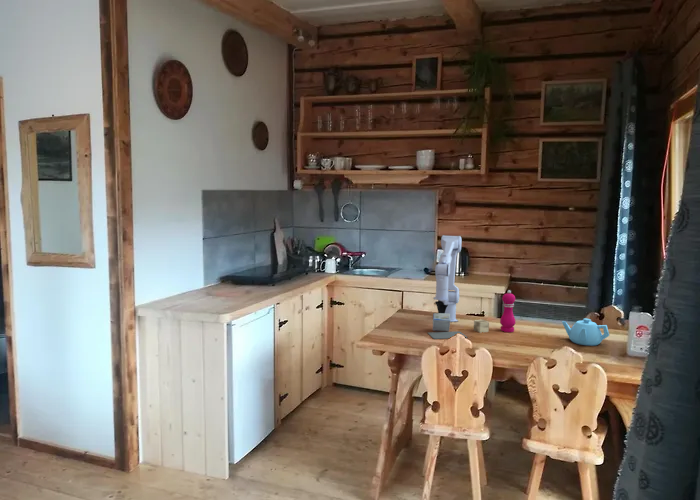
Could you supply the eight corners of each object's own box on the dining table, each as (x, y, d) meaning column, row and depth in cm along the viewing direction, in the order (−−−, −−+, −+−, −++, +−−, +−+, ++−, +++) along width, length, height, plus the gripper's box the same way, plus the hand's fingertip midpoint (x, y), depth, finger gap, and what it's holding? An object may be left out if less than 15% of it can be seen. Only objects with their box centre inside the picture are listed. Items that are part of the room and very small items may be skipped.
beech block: (473, 330, 266) (473, 320, 266) (482, 329, 268) (482, 319, 268) (479, 333, 262) (480, 322, 261) (488, 331, 264) (488, 321, 263)
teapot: (580, 348, 239) (582, 324, 238) (559, 338, 254) (561, 315, 252) (610, 346, 243) (612, 322, 241) (588, 336, 257) (590, 314, 256)
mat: (427, 333, 260) (427, 332, 260) (459, 332, 263) (459, 331, 263) (433, 339, 250) (433, 338, 250) (467, 338, 253) (467, 337, 253)
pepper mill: (498, 331, 264) (500, 290, 262) (500, 328, 271) (502, 288, 268) (514, 333, 261) (516, 292, 259) (515, 329, 268) (517, 289, 266)
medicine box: (448, 324, 267) (450, 313, 261) (449, 331, 264) (450, 320, 258) (432, 323, 268) (433, 312, 262) (432, 331, 265) (433, 319, 258)
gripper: (429, 285, 270) (429, 312, 271) (438, 291, 256) (437, 320, 257) (443, 285, 271) (442, 312, 272) (453, 291, 257) (452, 319, 258)
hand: (441, 316), depth 265 cm, fingers closed
